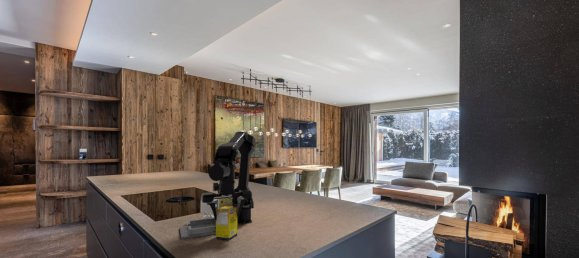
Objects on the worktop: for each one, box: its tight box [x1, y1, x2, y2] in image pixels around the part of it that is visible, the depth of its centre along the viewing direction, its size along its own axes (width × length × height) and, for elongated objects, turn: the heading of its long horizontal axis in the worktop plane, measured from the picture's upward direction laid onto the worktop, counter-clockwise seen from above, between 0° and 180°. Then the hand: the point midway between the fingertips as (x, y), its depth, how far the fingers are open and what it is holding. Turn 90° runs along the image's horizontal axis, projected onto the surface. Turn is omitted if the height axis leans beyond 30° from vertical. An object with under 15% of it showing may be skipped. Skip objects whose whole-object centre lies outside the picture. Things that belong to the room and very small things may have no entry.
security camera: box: [199, 199, 220, 219], centre depth 124 cm, size 6×7×10 cm
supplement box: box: [215, 205, 238, 241], centre depth 101 cm, size 6×6×11 cm
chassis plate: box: [179, 218, 216, 240], centre depth 109 cm, size 18×14×3 cm
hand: (226, 218), depth 101 cm, fingers closed on supplement box, 8 cm apart
